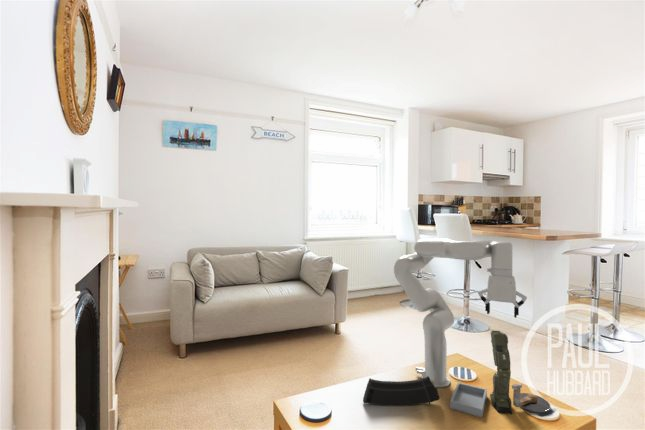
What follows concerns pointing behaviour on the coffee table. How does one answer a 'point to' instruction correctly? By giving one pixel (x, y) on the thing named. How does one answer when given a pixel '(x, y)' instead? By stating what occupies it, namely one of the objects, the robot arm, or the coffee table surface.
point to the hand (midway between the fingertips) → (501, 314)
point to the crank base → (536, 405)
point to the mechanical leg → (501, 373)
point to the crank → (518, 402)
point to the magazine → (401, 392)
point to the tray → (469, 399)
